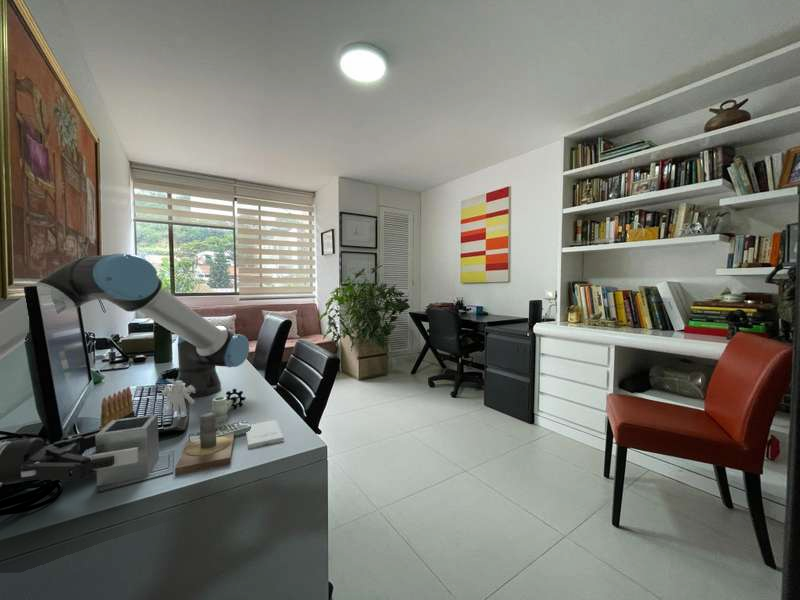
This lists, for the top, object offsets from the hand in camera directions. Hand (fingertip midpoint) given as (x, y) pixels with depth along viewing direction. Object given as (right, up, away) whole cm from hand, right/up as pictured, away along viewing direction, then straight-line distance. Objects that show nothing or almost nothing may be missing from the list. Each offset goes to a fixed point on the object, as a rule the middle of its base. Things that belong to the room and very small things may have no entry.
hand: (148, 440), depth 68 cm
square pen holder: (-3, -6, -1) cm, 7 cm away
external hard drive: (+18, -6, +15) cm, 25 cm away
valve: (+1, -6, +29) cm, 29 cm away
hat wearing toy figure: (-13, -6, +28) cm, 32 cm away
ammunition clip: (-19, -6, +15) cm, 25 cm away
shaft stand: (+9, -6, +6) cm, 13 cm away
